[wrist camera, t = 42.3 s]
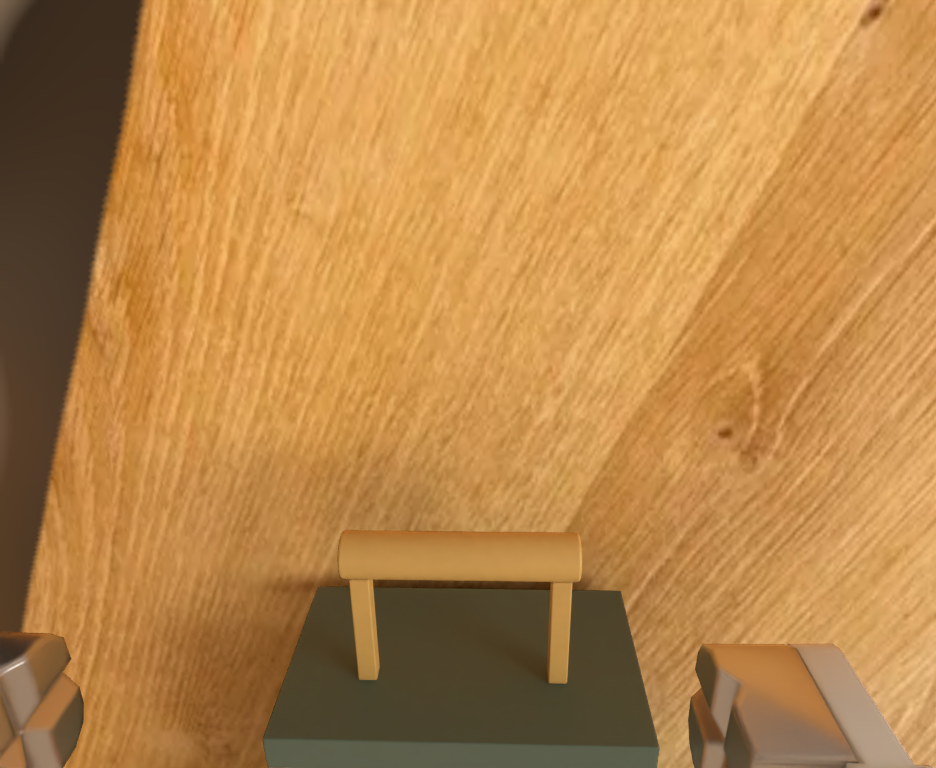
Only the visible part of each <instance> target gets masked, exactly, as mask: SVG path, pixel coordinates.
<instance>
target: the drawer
mask: <svg viewBox="0 0 936 768" xmlns="http://www.w3.org/2000/svg"><path fill="white" fill-rule="evenodd" d="M337 564H338V572H339V575H340V577H341V578H342V579H349V585H350V587H318V588H317V591H316V593H315V596H314V599H313V602H312V604H311V607H310V610H309V613H308V615H307V618H306V621H305V624H304V626H303V629H302V632H301V635H300V637H299V640H298V643H297V646H296V648H295V651H294V654H293V657H292V659H291V662H290V665H289V668H288V670H287V673H286V676H285V679H284V681H283V684H282V687H281V690H280V692H279V695H278V698H277V701H276V703H275V706H274V709H273V712H272V714H271V717H270V720H269V723H268V725H267V728H266V731H265V734H264V736H263V744H264V750H265V755H266V761H267V767H268V768H657V763H658V755H659V744H658V740H657V736H656V732H655V728H654V724H653V720H652V716H651V712H650V708H649V704H648V700H647V696H646V692H645V688H644V684H643V679H642V675H641V671H640V667H639V663H638V659H637V655H636V651H635V647H634V643H633V639H632V635H631V631H630V627H629V623H628V619H627V615H626V611H625V607H624V603H623V599H622V594H621V591H598V590H572V582H578V581H580V579H581V574H582V548H581V540H580V536H579V534H577V533H546V532H450V531H354V530H346V531H344V532H342V534H341V537H340V540H339V545H338V555H337ZM373 579H378V580H453V581H528V582H550V590H526V589H453V588H381V587H373Z"/></svg>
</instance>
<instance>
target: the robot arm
mask: <svg viewBox="0 0 936 768" xmlns="http://www.w3.org/2000/svg"><path fill="white" fill-rule="evenodd" d="M70 660H71V657H70V654H69V651H68V648H67V645H66V643H65V640H64V638H63V637H60V636H57V635H54V634H46V633H22V632H0V768H63V767H64V766H65V764H66V762H67V761H68V759H69V757H70V756H71V754H72V752H73V751H74V749H75V747H76V744H77V741H78V738H79V734H80V731H81V728H82V724H83V708H84V702H83V698H82V695H81V691H80V687H79V686H78V685H77V684H76V683H75V682H73V681H72V680H71V679H70V678H69V677H68V676H67V675H65V674H64V673H63V671H64V670H65V668H66V666H67V665H68V663H69V661H70ZM695 670H696V673H697V676H698V678H699V681H700V684H701V687H702V688H701V689H700V690H699V691H698V692H697V693H695V694H694V695H693V696H692V697H691V701H690V710H689V719H688V722H689V742H690V748H691V754H692V759H693V764H694V767H695V768H932V767H931V766H929V765H915V764H914V763H913V761H912V760H911V758H910V757H909V755H908V754H907V752H906V750H905V749H904V747H903V746H902V744H901V743H900V741H899V740H898V738H897V736H896V735H895V733H894V732H893V730H892V729H891V727H890V726H889V724H888V722H887V721H886V719H885V718H884V716H883V715H882V713H881V712H880V710H879V708H878V707H877V705H876V704H875V702H874V701H873V699H872V697H871V696H870V694H869V693H868V691H867V690H866V688H865V687H864V685H863V683H862V682H861V680H860V679H859V677H858V676H857V674H856V673H855V671H854V669H853V668H852V666H851V665H850V663H849V662H848V660H847V659H846V657H845V655H844V654H843V652H842V651H841V650H840V649H839V648H837V647H836V646H835V645H833V644H788V645H784V644H702V646H701V648H700V650H699V652H698V656H697V662H696V668H695Z"/></svg>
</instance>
